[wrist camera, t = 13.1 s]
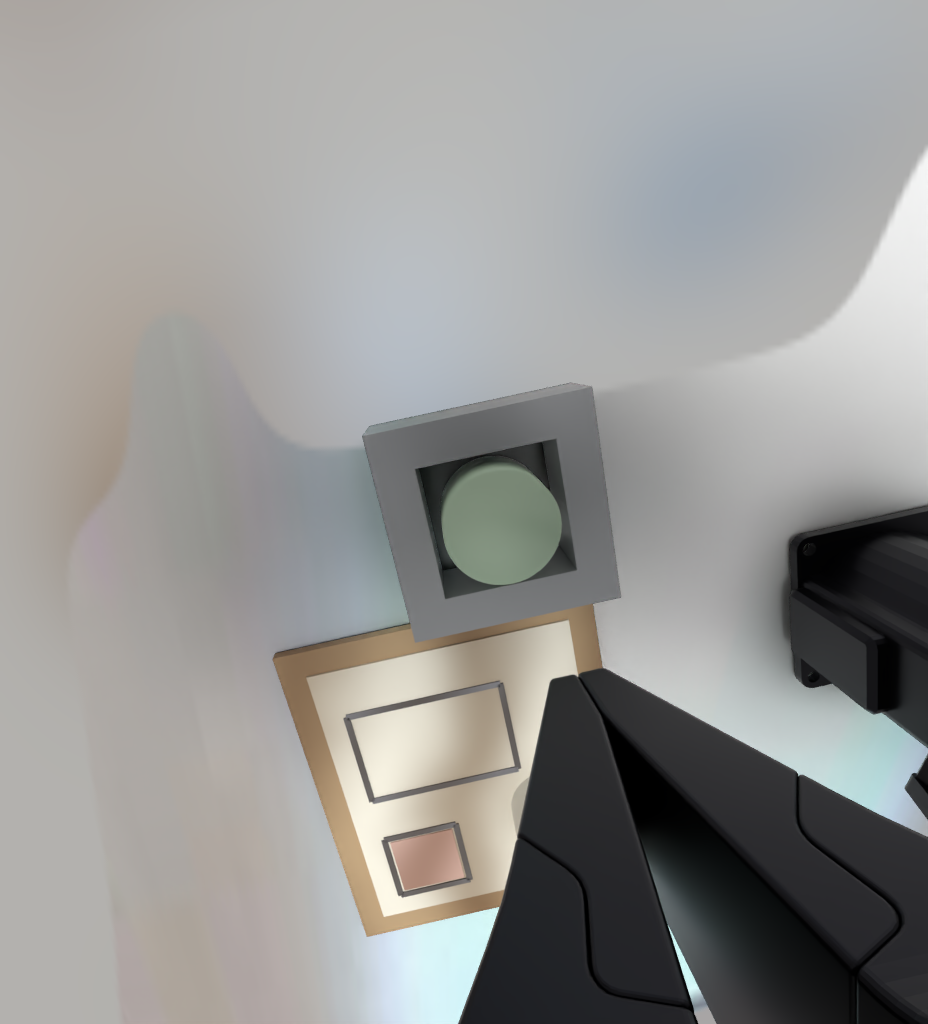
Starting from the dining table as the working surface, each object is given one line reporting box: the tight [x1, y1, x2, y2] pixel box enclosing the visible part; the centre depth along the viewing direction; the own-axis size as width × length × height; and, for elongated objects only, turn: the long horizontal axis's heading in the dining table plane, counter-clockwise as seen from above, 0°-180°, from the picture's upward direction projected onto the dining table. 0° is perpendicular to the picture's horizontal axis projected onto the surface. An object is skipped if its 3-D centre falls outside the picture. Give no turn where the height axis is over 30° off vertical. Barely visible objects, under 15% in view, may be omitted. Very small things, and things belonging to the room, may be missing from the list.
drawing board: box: [273, 604, 602, 937], centre depth 23 cm, size 12×14×1 cm
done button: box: [440, 456, 562, 585], centre depth 18 cm, size 4×4×2 cm
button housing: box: [362, 383, 621, 643], centre depth 19 cm, size 7×7×2 cm
